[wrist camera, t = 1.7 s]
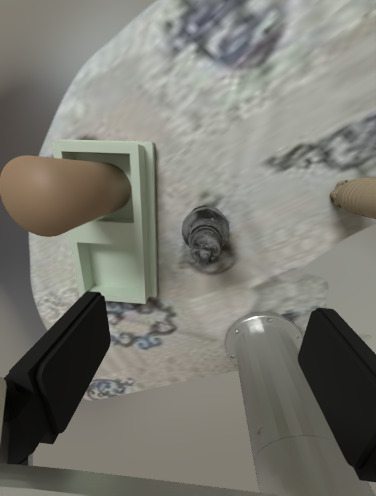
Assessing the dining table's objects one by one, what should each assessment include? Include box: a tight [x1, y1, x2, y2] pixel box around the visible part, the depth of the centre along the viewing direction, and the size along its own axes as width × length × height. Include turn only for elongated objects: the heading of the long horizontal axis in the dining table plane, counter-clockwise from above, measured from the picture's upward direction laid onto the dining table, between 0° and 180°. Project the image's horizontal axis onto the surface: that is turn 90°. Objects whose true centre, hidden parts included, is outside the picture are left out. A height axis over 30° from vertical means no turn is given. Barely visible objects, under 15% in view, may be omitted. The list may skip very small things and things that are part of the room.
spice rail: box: [0, 139, 158, 304], centre depth 23 cm, size 22×12×13 cm, turn 178°
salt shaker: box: [182, 205, 229, 265], centre depth 23 cm, size 6×6×12 cm
